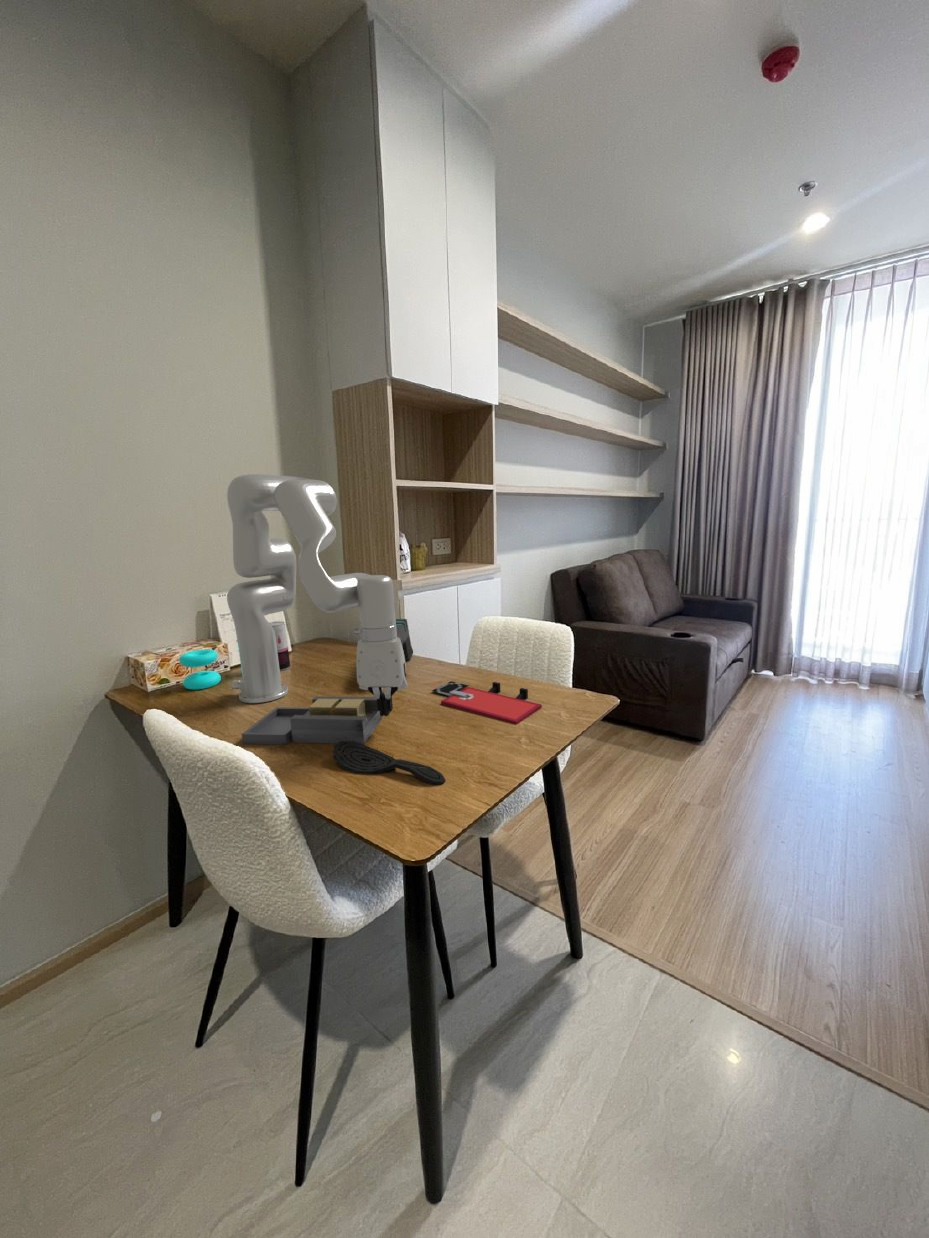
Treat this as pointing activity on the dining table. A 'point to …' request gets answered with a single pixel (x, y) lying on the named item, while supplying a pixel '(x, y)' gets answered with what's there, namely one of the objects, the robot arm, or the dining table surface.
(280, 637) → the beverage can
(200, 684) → the donuts
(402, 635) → the gun
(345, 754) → the hairbrush
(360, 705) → the brass chip
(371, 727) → the slot block
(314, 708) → the brass chip
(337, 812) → the dining table surface
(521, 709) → the red board with handle
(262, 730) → the chip tray
